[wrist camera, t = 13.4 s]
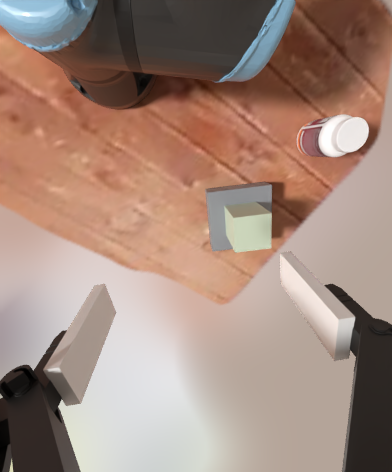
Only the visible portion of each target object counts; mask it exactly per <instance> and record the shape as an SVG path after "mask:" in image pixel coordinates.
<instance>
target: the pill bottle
mask: <svg viewBox="0 0 392 472" xmlns="http://www.w3.org/2000/svg"><path fill="white" fill-rule="evenodd" d="M368 133H369V127H368V124H367V122H366V121H365V120H364V119H362V118H360V117H352V116H350V115H345V114H342V115H336V116H332V117H327V118H323V119H318V120H314V121H311V122H308V123H307V124H305V125H304V126H303V127H302V128H301V130H300V131H299V133H298V136H297V147H298V149H299V151H300V152H301V153H302V154H304V155H306V156H317V157H339V156H343V155H345V154H346V153H348V152H354V151H356V150H358V149H359V148H360V147H362V146H363V144H364V143H365V142H366V140H367V137H368Z"/></svg>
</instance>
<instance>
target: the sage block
mask: <svg viewBox="0 0 392 472" xmlns="http://www.w3.org/2000/svg"><path fill="white" fill-rule="evenodd" d="M224 208H225V223H226V236H227V238H228V239H229V241H230V243H231V245H232V247H233V249H234V251H235V253H236V252H244V251H252V250H260V249H268V248H271V226H272V213H271V212H269V211H268V210H267V209H265V208H264V207H262V206H261V205H260V204H258V203H257V202H250V203H242V204H234V205H225V206H224Z"/></svg>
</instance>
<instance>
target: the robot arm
mask: <svg viewBox="0 0 392 472" xmlns="http://www.w3.org/2000/svg"><path fill="white" fill-rule="evenodd" d="M295 4H296V2H295V0H0V25H1V26H2V27H3V28H5V29H6V30H7V31H8V32H9V33H10V34H11V35H12V36H13V37H14V38H15V39H16V40H18V41H19V42H21V43H22V44H23V45H27V46H28V47H29V48H31V49H34V50H36V51H37V52H39V53H40V54H42V55H43V56H45V57H46V58H48V59H49V60H51V61H52V62H54V63H55V64H57V65H58V66H60V67H61V68H62V69H63V71H64V73H65V74H66V76H67V78H68V79H69V81H70V82H71V83H72V84H73V86H74V87H75V88H76V89H77V90H78V91H79V92H80V93H81V94H82V95H84V96H85V97H86V98H88V99H89V100H91V101H93V102H95V103H97V104H98V105H101V106H103V107H106V108H111V109H125V108H129V107H132V106H134V105H136V104H138V103H139V102H141V101H142V100H143V99H144V98H145V97H146V96H147V95H148V93H149V92H150V91H151V89H152V87H153V85H154V83H155V80H156V77H157V75H165V76H174V77H183V78H193V79H202V80H211V81H213V82H216V83H218V82H224V81H239V82H242V81H247V80H249V79H251V78H253V77H255V76H256V75H257V74H258V73H259V72H260V71H261V70H262V69H263V68H264V67H265V65H266V64H267V63H268V61H269V60H270V58H271V57H272V55H273V53H274V52H275V50H276V48H277V46H278V44H279V42H280V40H281V38H282V36H283V34H284V32H285V30H286V28H287V25H288V23H289V20H290V18H291V15H292V13H293V10H294V7H295ZM280 266H281V267H280V269H281V285H282V286H283V288H284V289H285V291H286V292H287V294H288V295H289V297H290V298H291V299H292V301H293V302H294V304H295V305H296V306H297V308H298V309H299V311H300V312H301V314H302V315H303V317H304V318H305V320H306V321H307V323H308V324H309V325H310V327H311V328H312V330H313V331H314V333H315V334H316V335H317V337H318V338H319V340H320V341H321V343H322V344H323V346H324V347H325V348H326V350H327V351H328V353H329V354H330V356H331V357H332V359H333V360H334V361H336V360H342V359H347V358H349V355H350V350H351V351H352V353H353V354H354V355H355V356H356V361H355V367H354V378H353V387H352V394H351V402H350V411H349V419H348V427H347V435H346V443H345V452H344V460H343V468H342V472H392V325H391V324H389V323H388V322H386V321H383V320H380V319H375V318H373V317H372V316H371V315H370V314H368V313H367V312H366V311H365V310H364V309H363V308H362V307H361V306H360V305H359V304H358V303H356V302H355V301H354V300H353V299H352V298H351V297H350V296H348V294H347V293H346V292H344V291H343V290H342V289H341V288H340V287H338V286H336V285H334V284H328V285H323V284H322V283H321V282H320V281H319V280H318V279H317V278H316V277H315V276H314V275H313V274H312V273H311V272H310V271H309V270H308V269H307V268H306V267H305V266H304V264H303V263H302V262H301V261H299V259H298V258H297V257H296V256H294V254H293V253H292V252H291V251H290V252H284V253H280ZM115 314H116V311H115V309H114V306H113V304H112V301H111V299H110V296H109V294H108V291H107V289H106V286H105V284H101V285H96V286H94V287H93V289H92V291H91V292H90V294H89V296H88V297H87V299H86V300H85V302H84V304H83V306H82V307H81V309H80V310H79V312H78V314H77V315H76V317H75V319H74V320H73V322H72V323H71V325H70V327H69V328H68V330H66V331H62V332H61V333H60V334H59V335H58V336H57V337H56V338H55V339H54V340H53V342H52V344H51V345H50V347H49V348H48V349H47V351H46V354H44V355H43V357H42V359H41V360H40V362H39V363H38V365H37V366H36V368H35V369H34V371H33V370H32V368H31V367H30V366H29V365H22V366H19V367H17V368H15V369H13V370H12V371H10V372H9V373H7V374H6V376H4V377H3V378H2V380H1V381H0V394H1V395H2V396H3V398H1V399H0V472H9V470H10V465H11V459H12V462H13V472H80V469H79V466H78V463H77V460H76V457H75V454H74V451H73V448H72V445H71V442H70V438H69V436H68V432H67V430H66V427H65V424H64V420H63V417H62V415H61V412H60V410H59V408H58V405H59V403H60V401H61V399H62V400H63V401H64V403H65V405H66V406H68V405H75V404H80V403H81V402H82V399H83V396H84V394H85V391H86V388H87V386H88V384H89V381H90V378H91V376H92V373H93V371H94V368H95V366H96V363H97V360H98V358H99V355H100V353H101V350H102V347H103V345H104V342H105V340H106V337H107V335H108V332H109V329H110V327H111V324H112V321H113V319H114V316H115Z"/></svg>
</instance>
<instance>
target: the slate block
mask: <svg viewBox="0 0 392 472" xmlns="http://www.w3.org/2000/svg"><path fill="white" fill-rule="evenodd" d="M205 192H206V202H207V213H208V223H209V234H210V244H211V247H212V251H220V250H228V249H233V247H232V245H231V243H230V241H229V239H228V238H227V236H226V223H225V208H224V206H225V205H234V204H242V203H250V202H257V203H258V204H260V205H261V206H262V207H264V208H265V209H267V210H268V211H269V212H271V213H272V185H271V184H269V183H266V182H258V183H250V184H242V185H234V186H226V187H218V188H209V189H205Z"/></svg>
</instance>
